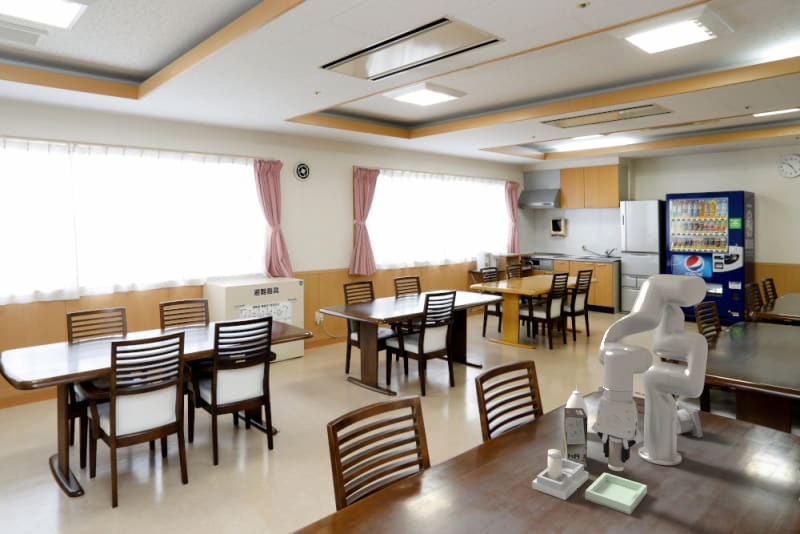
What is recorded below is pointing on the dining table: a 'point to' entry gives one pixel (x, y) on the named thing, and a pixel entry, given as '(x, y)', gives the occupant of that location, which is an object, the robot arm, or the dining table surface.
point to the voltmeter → (686, 419)
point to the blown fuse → (615, 453)
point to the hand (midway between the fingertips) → (616, 457)
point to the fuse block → (560, 476)
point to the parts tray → (616, 493)
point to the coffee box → (575, 435)
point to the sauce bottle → (577, 401)
